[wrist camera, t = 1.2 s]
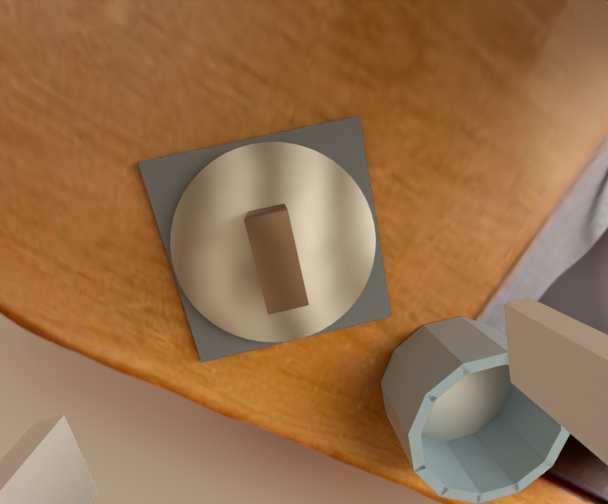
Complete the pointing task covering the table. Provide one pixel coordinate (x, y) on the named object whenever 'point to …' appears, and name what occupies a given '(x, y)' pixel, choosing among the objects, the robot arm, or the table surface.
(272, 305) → the lid
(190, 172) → the mat
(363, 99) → the table surface
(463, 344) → the bowl
